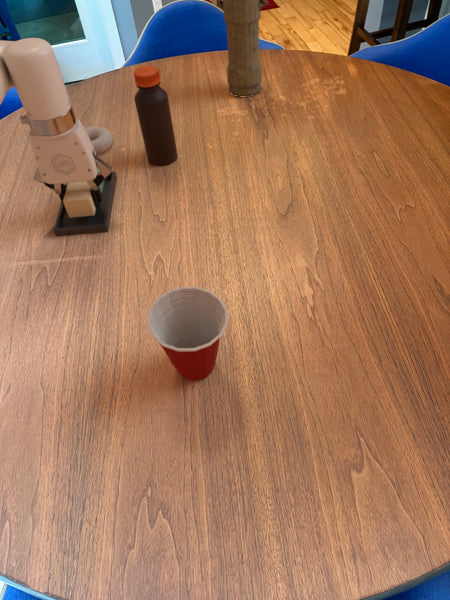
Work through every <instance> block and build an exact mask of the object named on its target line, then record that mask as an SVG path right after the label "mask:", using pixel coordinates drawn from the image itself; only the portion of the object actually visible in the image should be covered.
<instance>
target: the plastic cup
mask: <svg viewBox="0 0 450 600" xmlns="http://www.w3.org/2000/svg"><path fill="white" fill-rule="evenodd" d="M228 324H229V311H228V308H227V306H226V304H225V302H224V301H223V299H222V298H221V297H219V296H218V295H216V293H214V292H212V291H211V290H209V289H205V288H202V287H199V286H179V287H176V288H172V289H170V290H167V291H165V292H164V293H162V294H161V295H160V296H158V297H157V298H156V299H154V301H153V302H152V303H151V305H150V307H149V309H148V310H147V317H146V326H147V328H148V331H149V333H150V335H151V337H152V338H153V339H154V340H155V341H156V342H157V343H158V344H159V346H160V347H161V348H162V349H163V351H164V353H165V355H166V357H167V358H168V359H169V361H170V362H171V364H172V365H173V367H174V368H175V370H176V371H177V373H178V374H179V375H180V376H181V377H182V378H184V379H185V380H188V381H191V382H195V381H201V380H203V379H206V378H208V376H210V375H211V374H212V373H213V371H214V368H215V366H216V362H217V356H218V354H219V353H218V352H219V346H220V340H221V338H222V336H223V335H224V332H225V331H226V328H227V326H228Z"/></svg>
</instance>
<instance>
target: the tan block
mask: <svg viewBox="0 0 450 600" xmlns="http://www.w3.org/2000/svg"><path fill="white" fill-rule="evenodd" d="M90 189H91V188H90V186H89V185H88V183H87V182H86V181H84V182H75V183H68V185H67V189H66V192H65V196H64V199H63V203H64V205H65V208H66V210H67V213H68V215H69V218H72V217H83V216H94V215H95V211H96V207H95V205H94V202H93V199H92V196H91V193H90Z"/></svg>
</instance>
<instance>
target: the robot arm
mask: <svg viewBox="0 0 450 600" xmlns="http://www.w3.org/2000/svg"><path fill="white" fill-rule="evenodd" d="M13 88H15V90H16V93H17V95H18V97H19V100H20V103H21V105H22V108H24V112H25V114H24V115H20V116H19V117H20V119H19V120H20V122H21V124H22V125H28V126H29V128H30V130H29V131H28V134H29V140H30V146H31V148H32V153H33V156H34V159H35V163H36V166H37V167H36V169H35V173H34V175H33V180H34V181H36V182H38V183H40V184H42V185H43V184H44V186H46V187H47V188H49V189H51V190H53V191H54V193H55V194H56V195H58V197H59V199H60V203H61V202H62V204H63V205H64V203H63V199H64V196H65V192H66V189H67V186H66V183H75V182H84V181H86V182H87V183H88V185H89V186H90V188H91V189H90V193H91V196H92V199H93V202H94V205H95V207H96V208H99V205H100V201H102V194H101V191H100V188H99V186H100V184H101V183H102V182H103V180H104V179H105V178H106V177H107V176H108V175H109V174H110V173H111V171H112V166H110V164H108V163H106V162H105V160H102V159H101V158H100V157H98V155H96V153H95V150H94V148H93V145H92V143H91V141H90V138H89V136H88V134H87V132H86V130H85V128H86V127H85V126H83V123H82V121H81V120H80V119H78V118H76V115H75V112H74V108H73V106H72V103H71V100H70V96H69V94H68V91H67V87H66V84H65V82H64V78H63V75H62V72H61V69H60V66H59V64H58V60H57V57H56V54H55V51H54V48H53V47H52V45H51V44H50V43H49V42H48V41H47V40H45V39H43V38H40V37H39V38H38V37H27V38H22V39H19V40H16V41H15V40H0V106H1V105H2V103H3V101H4V99H5V97H6V95H7V93H8V92H9V91H10V90H11V89H13ZM97 168H98V169H100V170H101V172H99V173H98V174H97Z"/></svg>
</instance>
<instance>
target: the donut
mask: <svg viewBox="0 0 450 600" xmlns="http://www.w3.org/2000/svg"><path fill="white" fill-rule="evenodd" d="M84 128H85V130H86V132H87V134H88V136H89V138H90V141H91V143H92V145H93V148H94V150H95V153H96V156H98V155H101V154H103V153H105V152H106V151H108V150H109V149H110V148H111V147H112V144H113V143H114V141H113V140H114V138H113V134H112V133H111V132H110V130H108V129H107V128H105V127H103V126H89V127H88V126H87V127H84Z"/></svg>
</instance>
